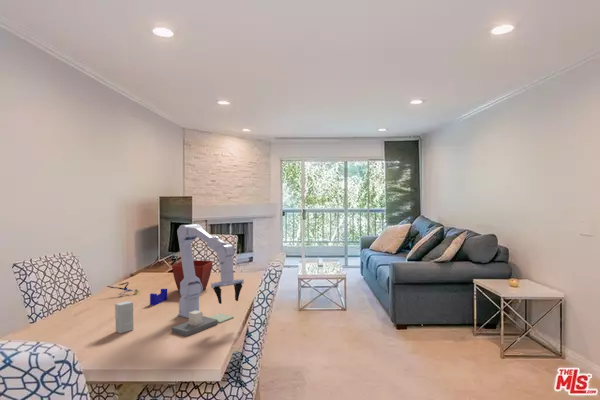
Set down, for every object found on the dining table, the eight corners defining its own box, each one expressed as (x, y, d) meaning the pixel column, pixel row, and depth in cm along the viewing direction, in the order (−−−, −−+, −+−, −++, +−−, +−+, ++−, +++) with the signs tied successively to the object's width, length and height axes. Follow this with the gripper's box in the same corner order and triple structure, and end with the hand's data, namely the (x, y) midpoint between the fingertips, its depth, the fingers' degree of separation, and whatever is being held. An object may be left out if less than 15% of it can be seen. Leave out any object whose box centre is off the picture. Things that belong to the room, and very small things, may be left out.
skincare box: (128, 327, 171) (128, 300, 170) (133, 329, 168) (133, 302, 168) (115, 331, 166) (114, 303, 166) (119, 333, 163) (119, 305, 163)
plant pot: (213, 287, 245) (213, 260, 245) (202, 294, 226) (202, 266, 226) (184, 286, 247) (184, 259, 247) (171, 294, 228) (171, 265, 228)
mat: (206, 319, 182) (206, 318, 182) (219, 314, 189) (219, 313, 189) (220, 323, 177) (220, 321, 177) (233, 317, 184) (233, 316, 184)
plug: (188, 328, 170) (188, 312, 170) (195, 325, 173) (195, 310, 173) (195, 330, 168) (195, 314, 168) (202, 327, 171) (202, 311, 171)
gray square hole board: (171, 332, 165) (171, 327, 165) (203, 320, 180) (203, 316, 180) (186, 336, 160) (186, 331, 160) (217, 324, 176) (217, 319, 175)
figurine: (138, 307, 225) (101, 301, 218) (141, 299, 233) (105, 292, 226) (143, 292, 222) (106, 285, 216) (145, 284, 230) (109, 277, 224)
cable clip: (159, 299, 218) (159, 288, 217) (167, 299, 217) (167, 288, 217) (147, 305, 206) (147, 293, 206) (155, 305, 205) (155, 294, 205)
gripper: (213, 274, 167) (214, 306, 167) (245, 270, 174) (246, 301, 174) (209, 272, 174) (210, 303, 173) (240, 268, 180) (241, 298, 180)
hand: (228, 301), depth 174 cm, fingers open, 7 cm apart
